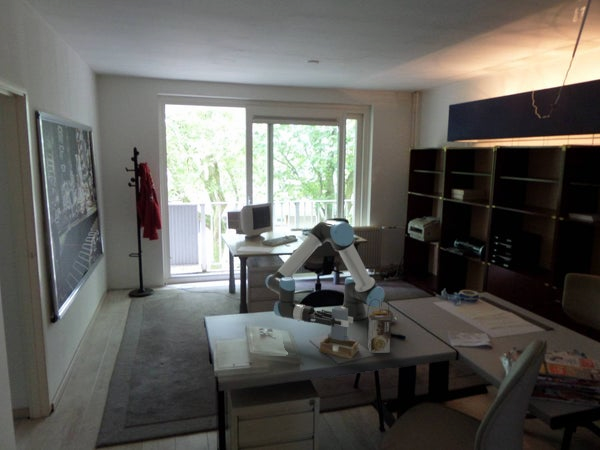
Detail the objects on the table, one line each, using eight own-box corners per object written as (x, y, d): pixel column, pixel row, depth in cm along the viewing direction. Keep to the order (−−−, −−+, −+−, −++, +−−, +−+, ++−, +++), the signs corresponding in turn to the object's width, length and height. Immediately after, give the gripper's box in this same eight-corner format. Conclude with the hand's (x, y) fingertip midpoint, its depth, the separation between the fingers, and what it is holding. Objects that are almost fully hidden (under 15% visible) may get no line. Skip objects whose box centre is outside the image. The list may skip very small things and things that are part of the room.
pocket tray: (327, 343, 203) (328, 335, 203) (358, 350, 197) (358, 341, 196) (319, 351, 194) (319, 342, 194) (351, 358, 187) (351, 349, 187)
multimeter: (373, 344, 204) (375, 304, 202) (364, 336, 214) (366, 298, 211) (400, 342, 208) (402, 302, 206) (390, 334, 218) (392, 296, 215)
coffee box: (386, 347, 201) (388, 314, 199) (389, 353, 194) (391, 319, 192) (367, 347, 200) (369, 314, 198) (370, 353, 194) (372, 319, 192)
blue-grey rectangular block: (330, 334, 199) (332, 303, 197) (350, 338, 195) (352, 307, 193) (326, 337, 194) (328, 306, 193) (347, 341, 190) (348, 310, 188)
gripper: (312, 315, 210) (356, 324, 200) (295, 326, 194) (343, 336, 184) (312, 300, 209) (357, 308, 199) (296, 311, 193) (344, 320, 183)
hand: (350, 322), depth 191 cm, fingers closed on blue-grey rectangular block, 5 cm apart
